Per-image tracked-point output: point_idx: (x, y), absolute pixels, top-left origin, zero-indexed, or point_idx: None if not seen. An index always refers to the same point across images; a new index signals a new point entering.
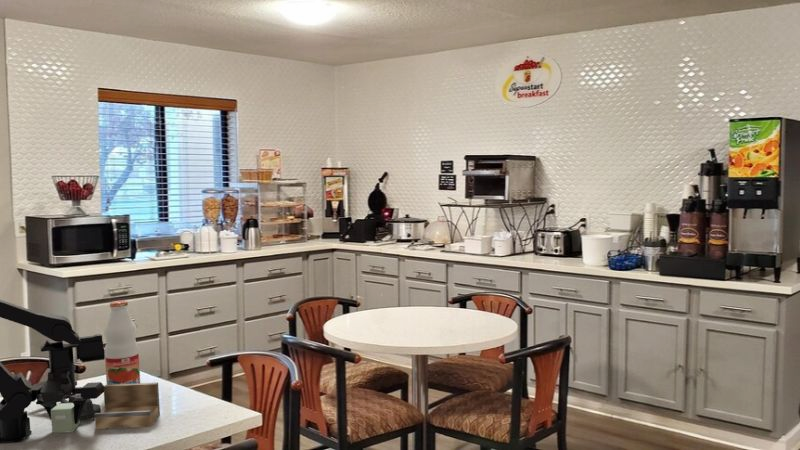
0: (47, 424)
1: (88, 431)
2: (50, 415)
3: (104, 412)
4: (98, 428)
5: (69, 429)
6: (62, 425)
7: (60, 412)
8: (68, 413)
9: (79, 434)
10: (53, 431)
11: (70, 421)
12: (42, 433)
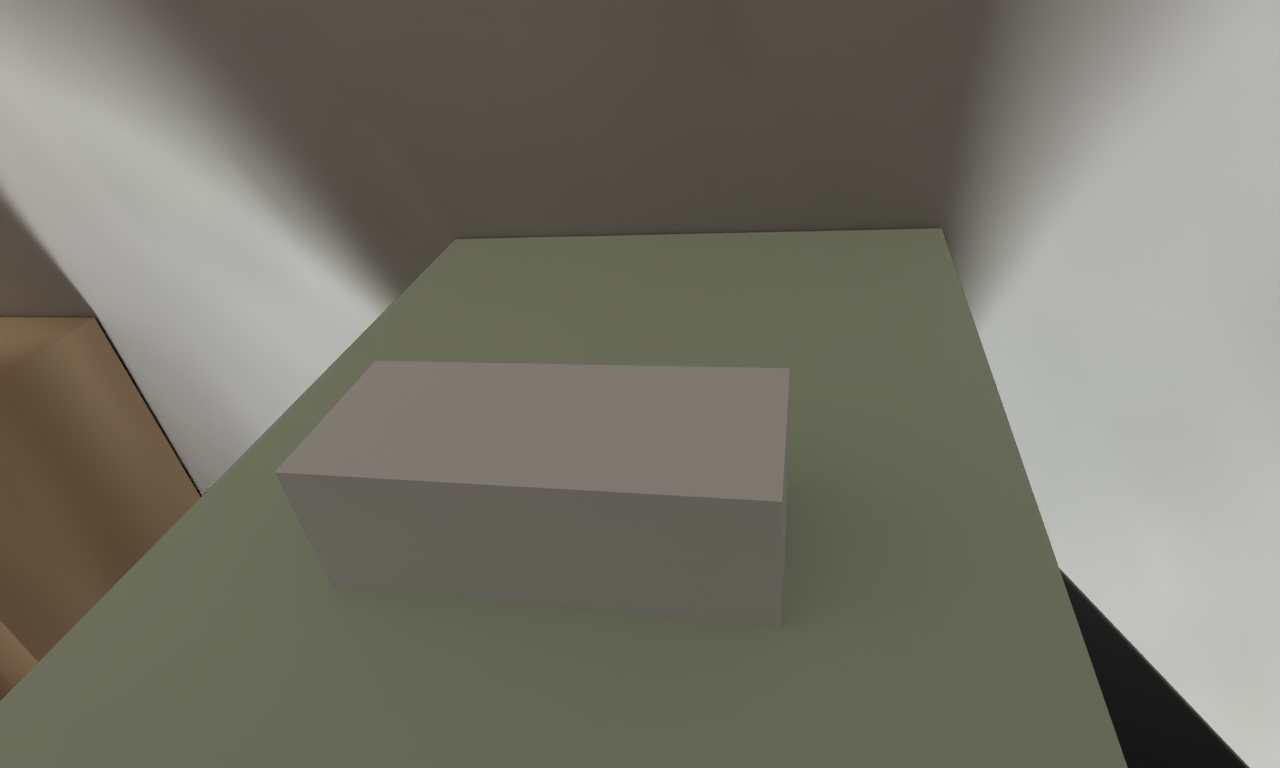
0: (1198, 691)
1: (131, 223)
2: (1148, 736)
3: (7, 689)
4: (38, 323)
5: (486, 260)
6: (624, 316)
7: (533, 706)
8: (204, 597)
9: (167, 45)
10: (908, 242)
11: (348, 378)
12: (1238, 214)
